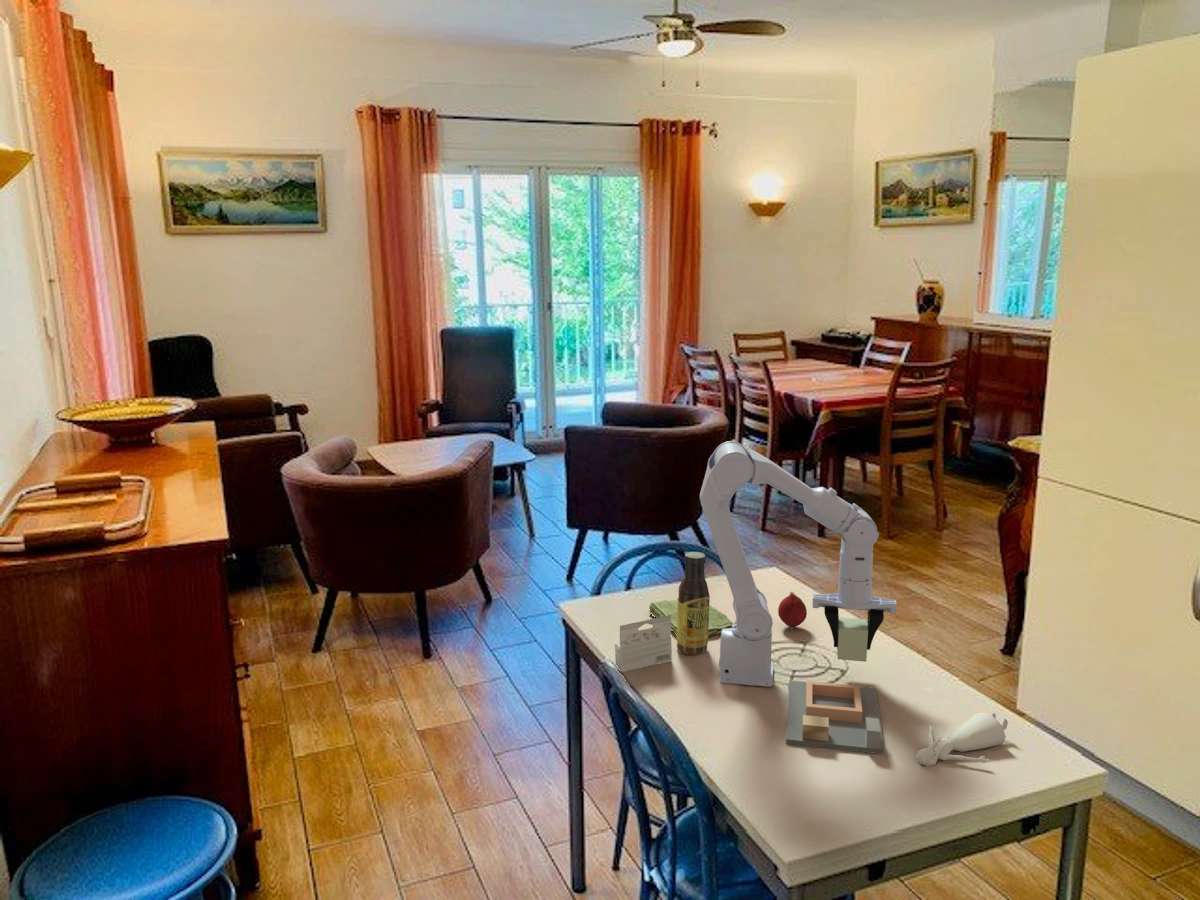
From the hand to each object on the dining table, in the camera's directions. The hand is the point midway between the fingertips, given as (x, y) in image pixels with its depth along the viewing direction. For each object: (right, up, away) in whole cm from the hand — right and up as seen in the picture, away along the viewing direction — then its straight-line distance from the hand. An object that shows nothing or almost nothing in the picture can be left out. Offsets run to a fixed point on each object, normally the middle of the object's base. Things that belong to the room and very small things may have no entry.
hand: (851, 646), depth 160 cm
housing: (-7, -9, -12) cm, 17 cm away
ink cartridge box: (-38, -6, +8) cm, 39 cm away
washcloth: (-27, -2, +27) cm, 38 cm away
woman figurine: (+11, -12, -22) cm, 27 cm away
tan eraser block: (-11, -11, -19) cm, 25 cm away
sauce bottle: (-28, -4, +14) cm, 31 cm away
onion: (-6, -2, +23) cm, 24 cm away
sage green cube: (0, -2, 0) cm, 2 cm away
